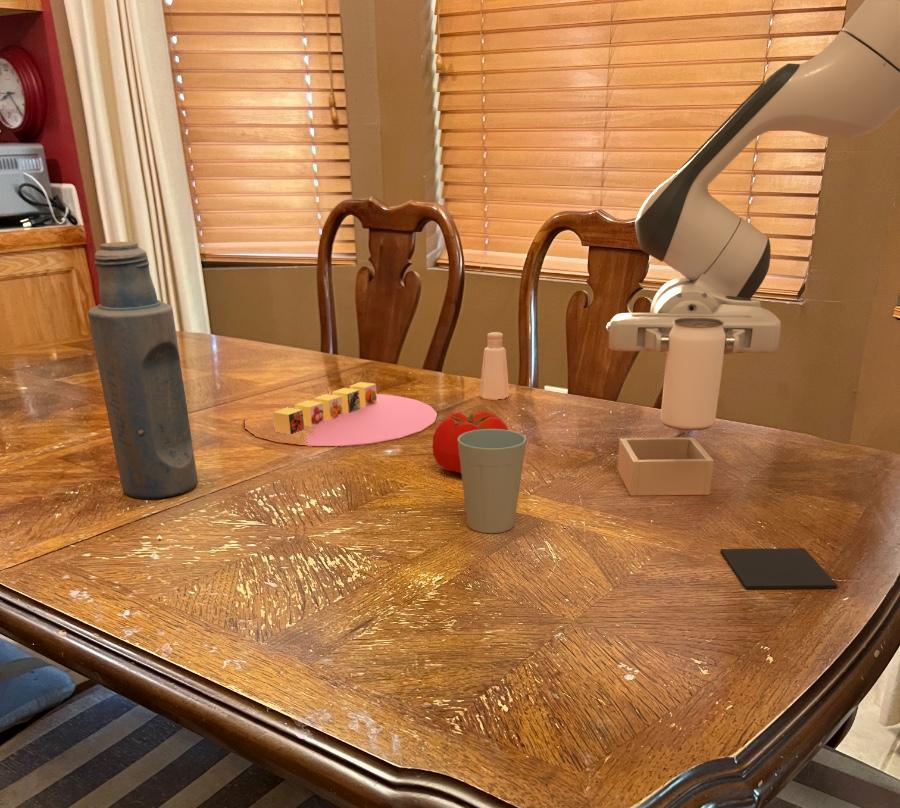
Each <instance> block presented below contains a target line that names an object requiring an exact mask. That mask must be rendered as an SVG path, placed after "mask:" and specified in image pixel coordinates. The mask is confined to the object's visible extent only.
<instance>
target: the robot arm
mask: <svg viewBox="0 0 900 808" xmlns="http://www.w3.org/2000/svg"><path fill="white" fill-rule="evenodd" d="M899 109H900V0H864V1H863V2H862V3H861V5H859V7H857V9H856V10H855V12H854V13H853V14H852V15H851V16H850V18H849V19H848V20H847V22H846V23H845V24H844V26H843V27H842V28H841V30H840V31H839V33H838V34H837V35H836V36H835V38H834V39H833V40H832V41H831V42H830V43H829V44H828V45H827V46H826V47H824V48H823V50H821V51H820V52H819V53H817V54H816V55H814V56H813V57H812V58H810V59H808V60H806V61H804V62H802V63H787V64H785V65H783V66H781V67H780V68H779V69H776V71H775V72H773V73H772V74H771V75H770V76H768V77H767V78H766V79H765V80H764V81H763V82H762V83H761V84H760V85H759V86H758V87H757V88H756V89H755V90H754V91H752V93H751V94H750V95H749V96H748V97H746V99H745V100H744V101H743V102H742V103H741V104H740V105H739V106H738V107H737V108H736V109H735V110H734V111H733V112H732V113H731V114H730V115H729V116H728V117H727V118H726V119H725V120H724V122H722V124H721V125H720V126H719V127H718V128H717V129H716V130H715V131H714V132H713V133H712V134H711V135H710V136H709V137H708V139H706V141H704V142H703V144H702V145H701V146H700V147H699V148H698V149H697V150H696V151H695V152H694V153H693V154H692V156H691V157H690V158H688V160H687V161H685V163H684V164H683V165H682V166H681V167H680V168H679V169H678V170H677V171H676V172H675V173H674V174H673V175H672V176H670V177H669V178H668V179H666V180H665V181H664V182H662V183H661V184H660V185H659V186H658V187H656V188H655V189H654V190H653V191H652V193H651V194H650V195H649V196H648V197H647V198H646V200H645V201H644V202H643V204H642V205H641V207H640V208H639V211H638V213H637V216H636V218H635V220H634V228H635V229H634V230H635V235H636V239H637V243H638V247H639V248H640V250H641V251H642V252H644V253H646V254H647V255H649V256H651V257H652V258H654V259H656V260H658V261H659V262H661V263H662V262H663V263H664V264H665V265H667V266H669V267H670V268H672V269H673V270H674V271H676V272H677V273H678V274H680V276H679V277H675V278H672V279H670V280H668V281H667V282H665V283H664V284H663V285H662V286H661V287H660V288H659V289H658V290H657V292H656V293H655V295H654V297H653V298H652V300H651V304H650V309H649V312H621V313H616V314H615V315H614V316H613V317H612V318H611V319H610V321H609V322H607V324H606V325H605V326H606V327H605V328H606V331H607V332H608V333H609V334H608V349H609V350H612V351H616V352H655V353H663V354H664V355H666V356H667V352H668V348H669V347H668V344H669V333H670V331H671V330H672V328H673V326H674V320H676V319H680V318H712V319H718V320H721V321H723V322H724V324H723V329H724V332H725V336H726V339H725V348H724V355H727V354H728V355H729V354H743V353H747V354H749V353H751V354H752V353H753V354H773V353H775V352H777V350H778V348H779V343H780V338H781V330H782V322H781V320H780V319H779V317H777V315H776V314H775V313H773V312H772V311H771V310H769V309H767V308H765V307H762V306H761V301H760V299H757V298H752V297H753V296H754V295H755V294H756V293H757V291H758V290H759V289H760V287H761V285H762V284H763V282H764V280H765V279H766V276H767V275H768V271H769V268H770V266H771V265H770V264H771V253H772V252H771V251H772V250H771V248H772V247H771V243H770V241H771V240H770V237H769V236H767V235H766V234H764V232H762V231H761V230H759V229H758V228H757V227H756V226H754V225H753V224H751V222H749V221H748V220H745V218H744V217H741V216H739V215H738V214H737V213H735V212H734V211H733V210H731V209H730V208H728V207H727V206H726V205H724V204H723V203H722V202H720V201H719V200H717V199H716V198H715V197H713V196H712V195H711V193H710V192H709V189H708V187H709V185H710V184H711V183H712V182H713V181H714V180H715V179H716V178H717V177H718V176H719V175H720V174H721V173H722V172H723V171H724V170H725V169H726V168H727V167H728V166H729V165H730V164H731V163H732V161H733V160H735V159H736V158H737V157H738V155H740V153H741V152H742V151H744V149H746V148H747V147H748V145H749V144H750V143H751V142H753V140H755V139H756V138H758V137H759V136H761V135H763V134H766V133H767V132H770V131H776V130H789V131H796V132H801V133H807V134H810V135H815V136H819V137H820V136H821V137H825V138H831V139H853V138H859V137H863V136H865V135H868V134H870V133H872V132H875V131H876V130H878V129H880V128H881V127H882V126H884V125H885V124H886V123H887V122H888V121H889V120H890V119H891V118H892V117H893V116H894V115H895V114H896V112H897V111H899ZM681 275H682V276H681Z"/></svg>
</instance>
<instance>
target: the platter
mask: <svg viewBox="0 0 900 808" xmlns="http://www.w3.org/2000/svg"><path fill="white" fill-rule="evenodd" d="M330 394H332V395H330ZM320 395H321V396H318V397H316V398H314V401H309V400H307V401H304V402H301V403H298V404H295V405H294V406H295V409H294V408H288V407H286V408H283V409H281V410H278V411H275V412H273V418H274V427H275V431H276V432H281V433H287V434H293V433H296V432H299V431H302V430H304V425H305V426H309V427H312V428H313V427H315V428H314V429H315V430H314V429H312V428H310V429H312V430H311V431H313V430H314V431H313V432H312V433H311V434H309V433H310V432H311V431H310V432H309V433H308V435H307V436H306V437H305V439H306V438H308V439H307V440H306V442H308V443H306V444H305V445H307V444H308V446H307V447H312V446H335V447H334V448H338V447H337V446H340V447H352V446H364V445H374V444H378V443H384V442H390V441H395V440H400V439H403V438H406V437H409V436H411V435H415V434H418V433H422V432H423V431H425V430H426V429H428V428H429V427H431V426H432V425H434V424H435V423H436V419H437V417H438V413H437V411H436V410H435V409H434V408H433V407H432V405H429V404H427V403H425V402H422V401H420V400H418V399H414V398H409V397H404V396H400V395H393V394H384V393H377V384H376V383H372V382H366V381H365V382H364V381H360V382H356V383H354V384H350V385H349V387H342V388H339V389H336V390H333V391H331V393H325V394H320ZM307 429H308V428H307ZM310 429H309V430H310ZM309 430H308V431H309ZM314 432H315V433H314ZM313 433H314V434H313ZM312 434H313V435H312ZM305 439H304V440H305ZM304 443H305V442H304ZM310 445H311V446H310Z"/></svg>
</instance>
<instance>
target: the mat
mask: <svg viewBox="0 0 900 808" xmlns="http://www.w3.org/2000/svg"><path fill="white" fill-rule="evenodd" d="M720 554H721V555H722V557H723V558H724V560H725V561H726V562H727V564H728V566H729V567H730V569H731V570H732V572H733V573H734V574H735V576H736V577H737V579H738V581H739V582H740V583H741V585H742V586H743V588H744V589H745V590H815V589H816V590H818V589H819V590H826V589H827V590H829V589H831V590H832V589H833V590H834V589H836V590H837V588H838V584H837V583H836V582H835V581H834V580H833V579H832V577H831V576H830V575H829V574H828V573H827V572H826V570H825V569H823V567H822V566H821V565H820V564H819V563H818V561H817V560H815V559H814V557H813V556H812V555H811V554H810V553H809V551H808V550H807V549H806V548H805V547H792V548H791V547H790V548H789V547H787V548H785V547H783V548H782V547H781V548H720Z"/></svg>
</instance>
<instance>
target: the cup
mask: <svg viewBox="0 0 900 808" xmlns="http://www.w3.org/2000/svg"><path fill="white" fill-rule="evenodd" d="M526 446H527V437H526V435H524V434H522V433H521V432H518V431H515V430H510V429H508V430H503V429H481V430H474V431H469V432H466V433H463V434H461V435H460V436H459V437H458V448H459V456H460V464H461V473H462V474H461V480H462V491H463V497H464V507H465V512H466V513H465V514H466V523H467V524H466V525H467V526H468V528H469V529H471V530H473V531H474V532H478V533H483V534H500V533H505V532H508V531H510V530H512V529H513V528H514V526H515V522H516V515H517V508H518V500H519V493H520V486H521V479H522V471H523V465H524V459H525V454H526Z"/></svg>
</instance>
